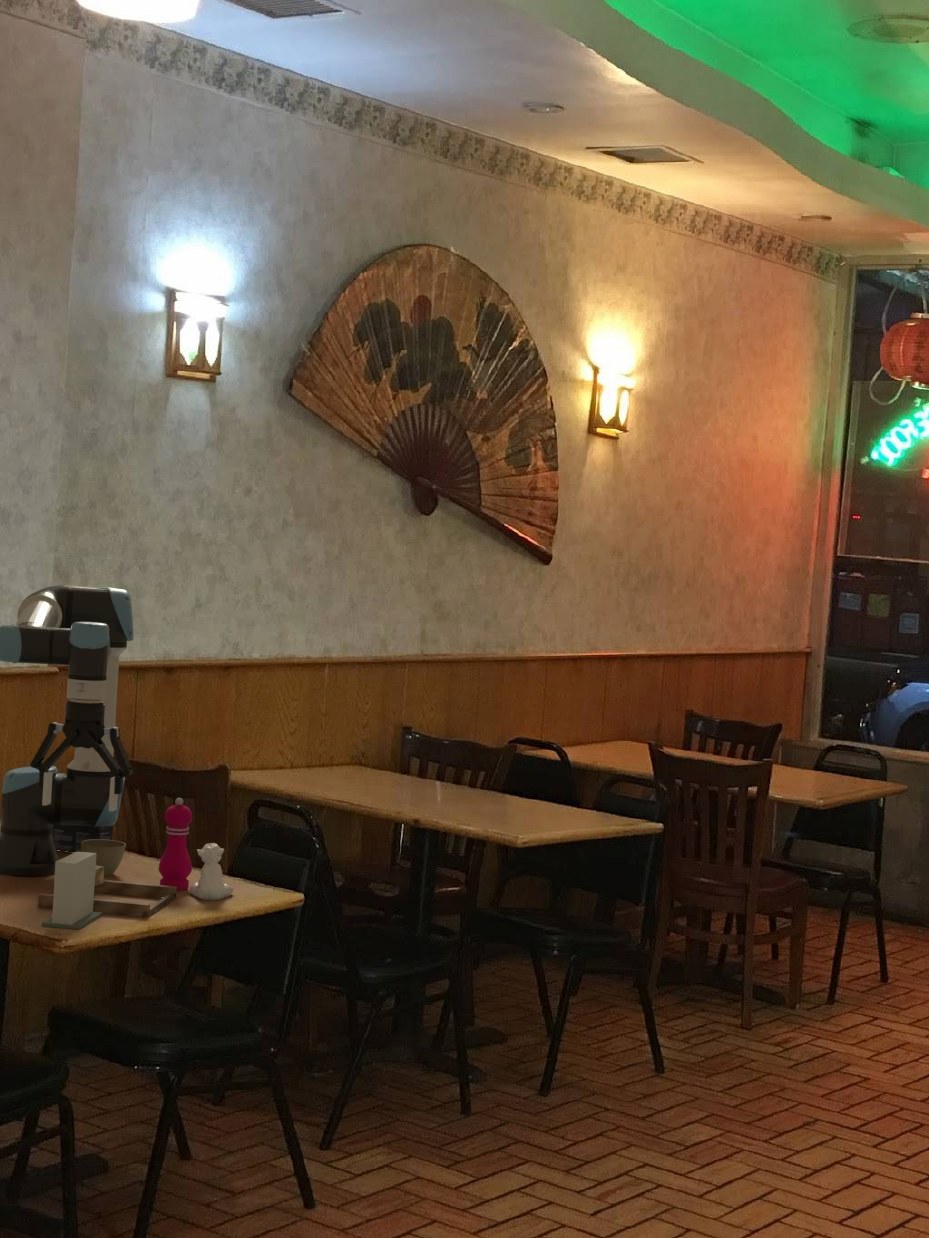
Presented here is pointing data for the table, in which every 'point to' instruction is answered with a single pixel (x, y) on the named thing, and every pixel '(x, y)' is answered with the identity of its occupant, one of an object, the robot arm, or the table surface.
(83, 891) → the block
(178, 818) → the pepper mill
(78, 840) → the small box
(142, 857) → the table surface
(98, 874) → the offcut top
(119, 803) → the robot arm
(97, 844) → the flower pot
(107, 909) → the wooden tray
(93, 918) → the mat
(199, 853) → the seated beast figurine
